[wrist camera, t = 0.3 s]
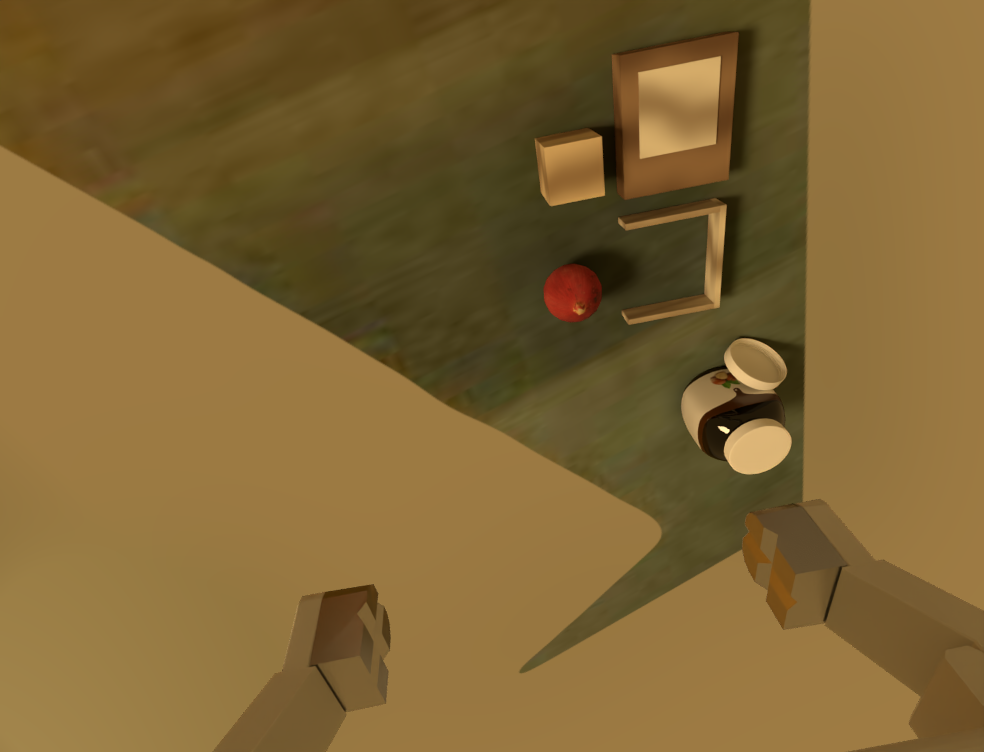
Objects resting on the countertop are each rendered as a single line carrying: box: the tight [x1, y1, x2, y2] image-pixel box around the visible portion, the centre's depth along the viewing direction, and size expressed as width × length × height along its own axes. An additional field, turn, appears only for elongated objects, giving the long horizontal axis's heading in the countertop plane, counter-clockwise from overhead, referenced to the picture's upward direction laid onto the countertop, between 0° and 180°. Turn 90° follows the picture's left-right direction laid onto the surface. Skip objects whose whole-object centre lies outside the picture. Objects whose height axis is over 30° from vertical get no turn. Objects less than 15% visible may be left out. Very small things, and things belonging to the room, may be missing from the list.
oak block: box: [535, 128, 605, 206], centre depth 49 cm, size 5×5×5 cm
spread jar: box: [681, 338, 792, 474], centre depth 62 cm, size 12×11×12 cm
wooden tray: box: [612, 32, 739, 325], centre depth 53 cm, size 26×10×3 cm, turn 10°
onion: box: [544, 264, 602, 322], centre depth 55 cm, size 6×6×8 cm
